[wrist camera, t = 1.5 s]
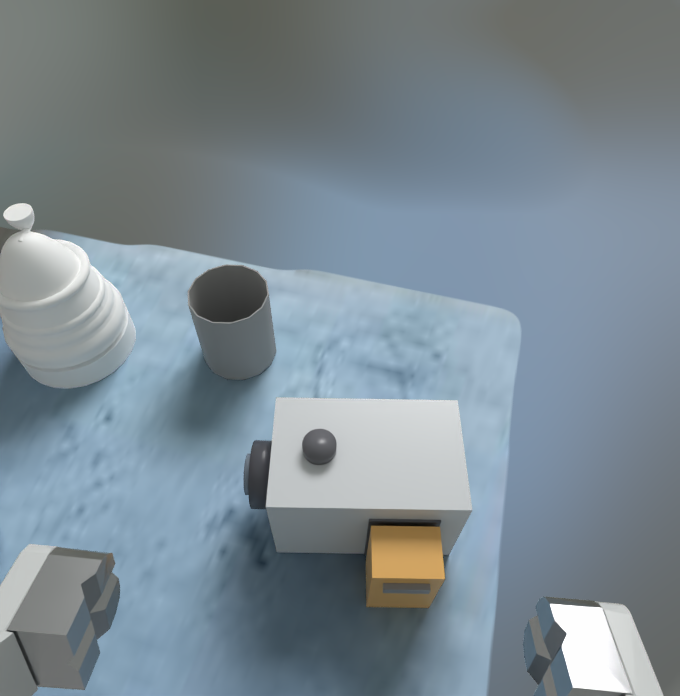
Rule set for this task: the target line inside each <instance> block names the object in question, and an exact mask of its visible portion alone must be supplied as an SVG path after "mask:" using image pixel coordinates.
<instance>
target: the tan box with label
mask: <svg viewBox="0 0 680 696" xmlns="http://www.w3.org/2000/svg"><path fill="white" fill-rule="evenodd" d="M444 580H445V573H444V562H443V552H442V542H441V531H440V527H425V526H371V529H370V536H369V542H368V549H367V555H366V607H397V608H429V607H430V605H431V603H432V601H433V600H434V598H435V596H436V594H437V593H438V591H439V589H440V587H441V585H442V584H443V582H444Z"/></svg>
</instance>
